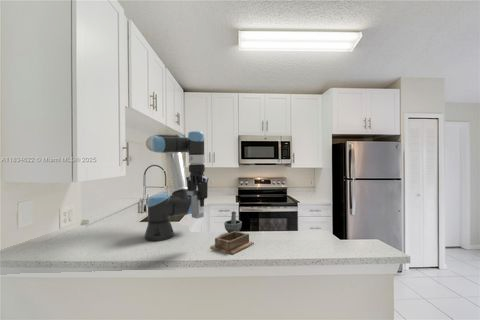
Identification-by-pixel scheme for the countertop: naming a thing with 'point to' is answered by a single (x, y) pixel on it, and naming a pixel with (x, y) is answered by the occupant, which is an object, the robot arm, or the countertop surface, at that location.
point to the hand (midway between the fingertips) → (197, 212)
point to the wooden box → (232, 242)
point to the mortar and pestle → (233, 224)
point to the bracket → (195, 203)
